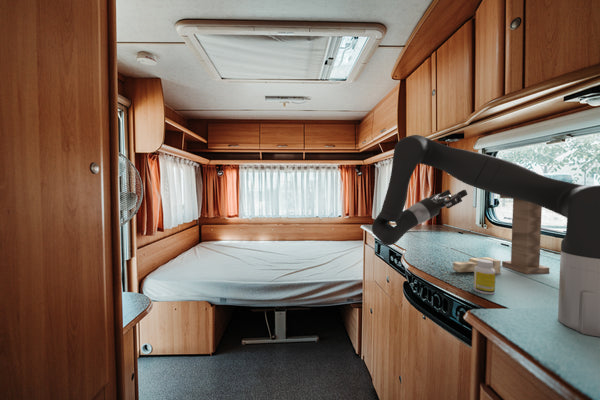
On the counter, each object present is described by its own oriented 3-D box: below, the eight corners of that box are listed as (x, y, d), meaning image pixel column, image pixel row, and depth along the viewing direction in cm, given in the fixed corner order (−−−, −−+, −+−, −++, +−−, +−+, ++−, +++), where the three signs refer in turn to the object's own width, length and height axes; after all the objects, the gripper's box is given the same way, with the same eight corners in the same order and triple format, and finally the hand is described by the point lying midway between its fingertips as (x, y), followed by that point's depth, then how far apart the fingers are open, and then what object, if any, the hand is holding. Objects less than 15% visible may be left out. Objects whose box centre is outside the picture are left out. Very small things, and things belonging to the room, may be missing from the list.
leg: (461, 275, 91) (461, 262, 91) (450, 271, 96) (451, 258, 96) (500, 273, 93) (500, 260, 93) (488, 269, 98) (488, 257, 98)
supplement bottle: (498, 295, 73) (499, 264, 73) (478, 294, 75) (479, 262, 74) (488, 288, 79) (489, 259, 78) (470, 287, 80) (471, 258, 79)
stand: (527, 275, 91) (530, 193, 90) (497, 265, 103) (500, 193, 102) (554, 273, 93) (557, 193, 92) (522, 264, 105) (524, 193, 104)
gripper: (429, 203, 84) (467, 182, 85) (407, 202, 99) (440, 183, 100) (438, 222, 85) (476, 201, 86) (415, 218, 99) (448, 199, 100)
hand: (457, 191), depth 93 cm, fingers open, 8 cm apart
